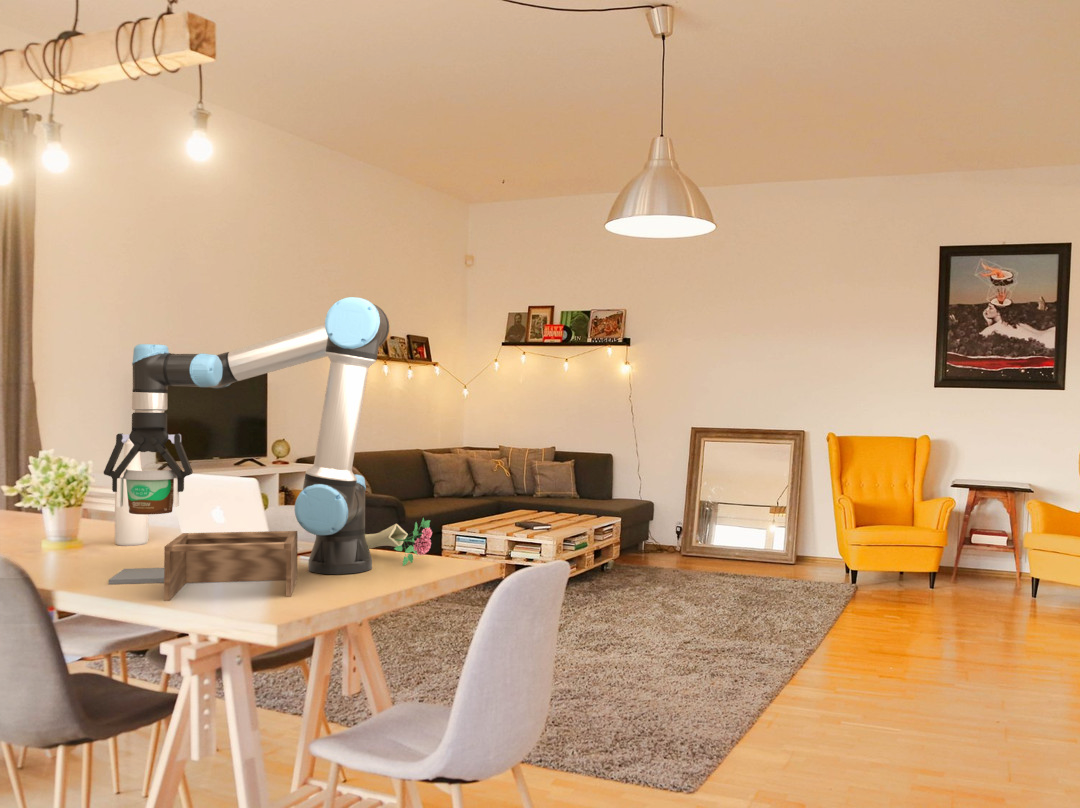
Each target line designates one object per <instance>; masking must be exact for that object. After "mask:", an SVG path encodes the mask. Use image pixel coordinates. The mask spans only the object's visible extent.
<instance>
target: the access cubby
mask: <svg viewBox="0 0 1080 808" xmlns="http://www.w3.org/2000/svg"><path fill="white" fill-rule="evenodd" d="M163 549H164V553H163V554H164V555H163V557H164V559H163V560H164V563H163V565H164V566H163V568H164V587H163V593H164V595H163V596H164V597H163V601H165V602H166V601H167V602H168V601H171V600H172V599H173V597H175V596H176V594H178V592H179V591H180V590H181V589H182V588H183V587H184V586H185V585H186V584H191V583H192V582H193V583H192V584H194V583H196V584H197V583H221V582H223V583H224V582H225V583H230V582H255V581H256V582H259V581H260V582H261V581H262V582H263V581H285V592H286V593H285V597H286V598H287V597H289V598H291V597H292V595H293V592H294V589H295V586H296V584H297V581H298V530H278V531H277V530H276V531H275V530H273V531H270V530H268V531H267V530H266V531H230V532H229V531H228V532H227V531H224V532H223V531H222V532H220V531H219V532H183V533H180V535H178V536H176V537H175V538H173V540H172V541H169V543H167V544H166V545H164V548H163Z"/></svg>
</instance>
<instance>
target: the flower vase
mask: <svg viewBox="0 0 1080 808" xmlns="http://www.w3.org/2000/svg"><path fill="white" fill-rule="evenodd" d="M430 523H431V520H429V519H428V520H425V519H424V517H423V518H422V520H421V523H420V526H419V525H418V523H417V522H415V523H414V529H413V531H412V536H409V535H411V533H409V534H408V533H407V531H405V530H404V529H403V528H402V527H401V526H400V525H399V524H398V523H395V524H393V525H391V526H389V527H387V528H386V529H383V530H381V531H379V532H377V533H369V534H367V533H365V539H366V542H367V545H368V548H369V550H370V549H374V548H376V547H383V546H385V547H386V546H388V547H389V546H390V547H394V548H393V550H395V551H397V552H403V549H405V550H404V553H405V554H404V555H405V556H403V559H402V567H404V566H406V565H407V564H408V563H409V562H410V563H411V564H413V561H414V555H413V553H414V554H415V555H417V556H418V555H420V556H423V555H425V554H427V553H429V551H430V549H431V546H432V540H431V539H430V538H431V537H432V535H433V531H432V529H431V527H430ZM418 526H419V527H418ZM421 527H422V528H423V529H421ZM420 529H421V532H420V533H419V531H420ZM417 536H418V537H417ZM415 539H416V540H415ZM405 542H407V543H408V542H409V543H413V544H412V545H409V544H407V546H408V547H407V548H406V545H405ZM403 545H404V547H403ZM406 554H407V555H406Z"/></svg>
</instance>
